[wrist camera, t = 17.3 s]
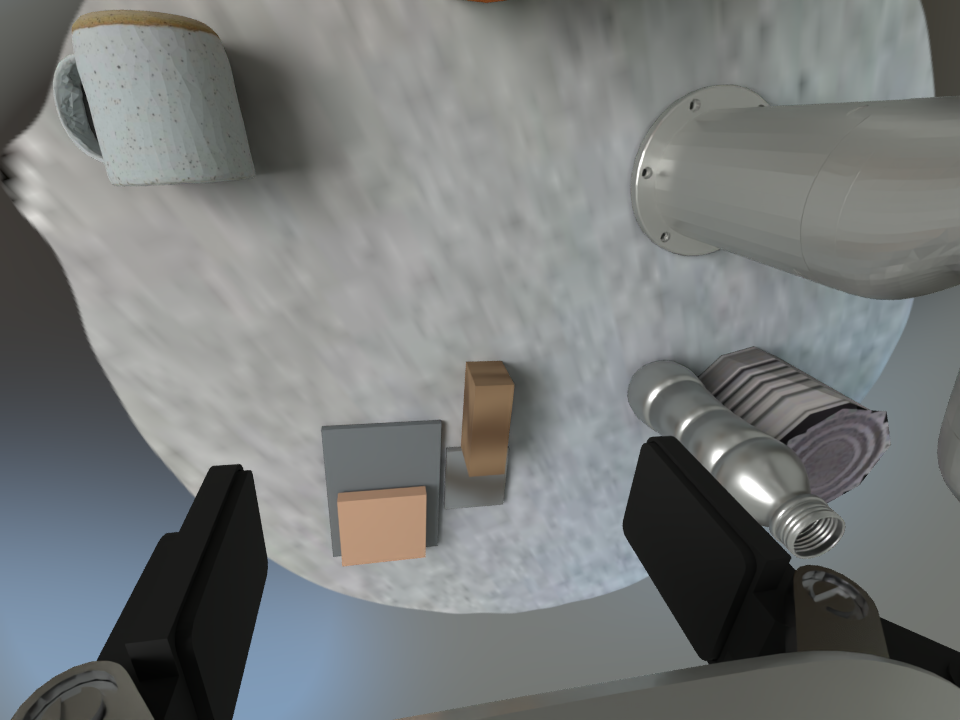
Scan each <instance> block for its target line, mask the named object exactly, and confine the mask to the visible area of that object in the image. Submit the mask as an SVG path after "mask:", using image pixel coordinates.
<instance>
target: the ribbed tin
mask: <svg viewBox="0 0 960 720" xmlns="http://www.w3.org/2000/svg"><path fill="white" fill-rule="evenodd" d="M698 378H699V379H700V380H701V382H702V383H703V385H704V386H705V388H706V389H707V390H708V391H709V392H710V393H711V394H712V395H713V396H714V397H715V398H716V399H717V400H718V401H719V402H720V403H721V404H722V405H723V406H725V407H726V408H728V409H729V410H730V411H732V412H733V413H734V414H736V415H738V416H739V417H740V418H742V419H743V420H745V421H746V422H747V423H749V424H750V425H752V426H754V427H756V428H757V429H759V430H761V431H763V432H764V433H766V434H768V435H770V436H772V437H773V438H775V439H777V440H779V441H780V442H782V443H784V444H785V445H787V446H788V447H790V448H791V449H792V450H793V451H794V452H795V453H796V454H797V455H798V457H799V458H800V459H801V461H802V462H803V464H804V466H805V468H806V471H807V475H808V478H809V482H810V489H811V494H815V495H817V496H819V497H820V498H821V499H823V500H824V501H825V502H826V503H828V502H830V501H832V500H834V499H836V498H837V497H839V496H841V495H843V494H845V493H846V492H848V491H850V490H852V489H853V488H855V487H857V486H859V485H860V484H861V482H862V481H863V480H864V478H865V477H866V476H867V475H868V473H869V472H870V471H871V469H872V468H873V467H874V466H875V464H876V463H877V462H878V460H879V459H880V458H881V457H882V455H883V454H884V453H885V452H886V450H887V449H888V448H889V446H890V445H891V442H890V435H889V427H888V419H887V412H886V411H872V410H869V409H867V408H866V407H864V406H862V405H860V404H859V403H857V402H855V401H853V400H852V399H850V398H848V397H846V396H845V395H843V394H841V393H839V392H838V391H836V390H834V389H832V388H831V387H829V386H827V385H825V384H824V383H822V382H820V381H818V380H817V379H815V378H813V377H811V376H810V375H808V374H806V373H804V372H803V371H801V370H799V369H797V368H796V367H794V366H792V365H790V364H789V363H787V362H785V361H783V360H782V359H780V358H778V357H776V356H774V355H772V354H769V353H767V352H765V351H763V350H760V349H758V348H756V347H750V348H746V349H743V350H739V351H736V352H732V353H728V354H725V355H721V356H720V357H719V358H718V359H717V360H716V361H715V362H714V363H713V364H712V365H711V366H710V367H709V368H707V369H706V370H705V371H704V372H703V373H702V374H701V375H700V376H699V377H698Z"/></svg>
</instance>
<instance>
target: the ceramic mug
mask: <svg viewBox="0 0 960 720" xmlns="http://www.w3.org/2000/svg"><path fill="white" fill-rule="evenodd" d="M72 42H73V50H74V53H73V54H70V55H68V56H66V57H65V58H64V59H63V60H61V61H60V62H59V64H58V66H57V68H56V71H55V74H54V80H53V93H54V100H55V105H56V109H57V113H58V116H59V119H60V121H61V124H62V125H63V127H64V129H65V131H66V133H67V135H68V136H69V138H70V139H71V140H72V142H73V143H74V144H75V145H76V146H77V147H78V148H79V149H80V150H81V151H83V152H84V153H85V154H87V155H88V156H90V157H91V158H93V159H95V160H97V161H99V162H101V163H104V164H105V167H106V171H107V175H108V178H109V180H110V182H111V183H112V184H113V185H115V186H151V185H166V184H169V185H172V184H188V183H212V182H221V181H233V180H241V179H249V178H253V177H255V174H256V173H255V168H254V164H253V160H252V156H251V152H250V148H249V144H248V139H247V135H246V130H245V126H244V122H243V118H242V114H241V110H240V106H239V102H238V98H237V93H236V89H235V84H234V79H233V74H232V70H231V66H230V63H229V60H228V57H227V55H226V52H225V49H224V47H223V44H222V42H221V40H220V38H219V36H218V35H217V34H216V33H215V32H214V31H213V30H212V29H211V28H210V27H208V26H207V25H206V24H204V23H202V22H199V21H197V20H194V19H191V18H187V17H183V16H179V15H173V14H167V13H160V12H151V11H135V10H109V11H98V12H91V13H88V14H85V15H82V16H80V17H79V18H78V19H77V20H76V22H75V23H74V24H73V26H72ZM81 83H82V84H83V87H84V90H85V93H86V96H87V100H88V103H89V107H90V111H91V115H92V119H93V123H94V127H95V131H96V135H97V139H98V140H97V139H96V138H95V135H94V133H93V132H92V131H91V129H90V126H89V123H88V119H87V116H86V111H85V106H84V103H83V100H82V96H83V94H82V90H81Z"/></svg>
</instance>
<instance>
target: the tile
mask: <svg viewBox="0 0 960 720" xmlns="http://www.w3.org/2000/svg"><path fill="white" fill-rule="evenodd" d="M337 507H338V519H339V531H340V543H341V555H342V566H350V565H359V564H369V563H378V562H387V561H396V560H405V559H414V558H423V557H425V550H426V487H425V486H420V487H408V488H395V489H383V490H371V491H358V492H346V493H338V498H337Z"/></svg>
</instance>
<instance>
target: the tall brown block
mask: <svg viewBox="0 0 960 720" xmlns="http://www.w3.org/2000/svg"><path fill="white" fill-rule="evenodd" d="M513 394H514V383H513V381H512V379H511V377H510V376H509V374H508V372H507V370H506V368H505V366H504V364H503V363H502V361H479V362H466V372H465V389H464V405H463V422H462V438H461V447H449V448H446V468H445V491H444V508H445V509H455V508H467V507H478V506H490V505H501V504H503V499H504V491H505V482H506V473H507V464H508V455H509V446H508V439H509V430H510V421H511V412H512V403H513Z"/></svg>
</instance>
